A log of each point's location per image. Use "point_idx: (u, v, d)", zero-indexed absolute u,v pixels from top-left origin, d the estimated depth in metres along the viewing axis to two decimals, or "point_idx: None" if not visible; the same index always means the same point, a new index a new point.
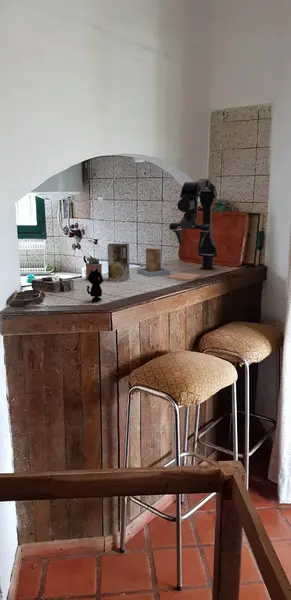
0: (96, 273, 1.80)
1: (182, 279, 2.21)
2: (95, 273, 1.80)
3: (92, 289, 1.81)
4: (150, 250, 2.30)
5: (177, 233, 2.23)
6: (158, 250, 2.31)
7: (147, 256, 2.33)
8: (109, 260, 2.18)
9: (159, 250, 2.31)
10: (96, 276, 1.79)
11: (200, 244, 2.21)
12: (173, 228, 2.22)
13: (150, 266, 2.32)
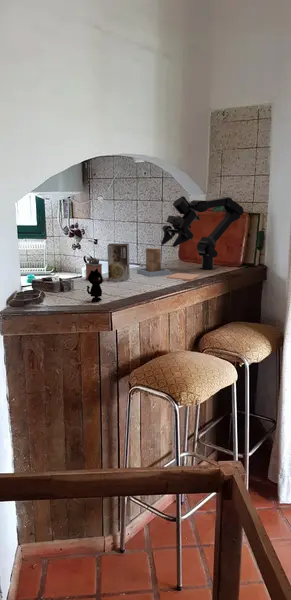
0: (96, 273, 1.80)
1: (182, 279, 2.21)
2: (95, 273, 1.80)
3: (92, 289, 1.81)
4: (150, 250, 2.30)
5: (165, 233, 2.41)
6: (158, 250, 2.31)
7: (147, 256, 2.33)
8: (109, 260, 2.18)
9: (159, 250, 2.31)
10: (96, 276, 1.79)
11: (173, 243, 2.32)
12: (164, 227, 2.42)
13: (150, 266, 2.32)
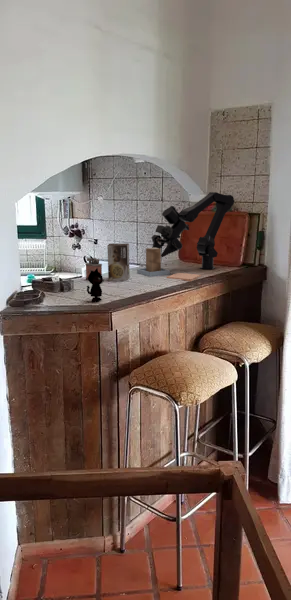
0: (96, 273, 1.80)
1: (182, 279, 2.21)
2: (95, 273, 1.80)
3: (92, 289, 1.81)
4: (150, 250, 2.30)
5: (154, 242, 2.39)
6: (158, 250, 2.31)
7: (147, 256, 2.33)
8: (109, 260, 2.18)
9: (159, 250, 2.31)
10: (96, 276, 1.79)
11: (162, 253, 2.30)
12: (153, 237, 2.40)
13: (150, 266, 2.32)
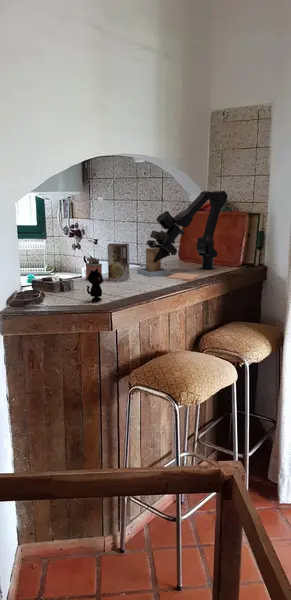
0: (96, 273, 1.80)
1: (182, 279, 2.21)
2: (95, 273, 1.80)
3: (92, 289, 1.81)
4: (150, 250, 2.30)
5: None
6: (158, 250, 2.31)
7: (147, 256, 2.33)
8: (109, 260, 2.18)
9: None
10: (96, 276, 1.79)
11: (154, 259, 2.30)
12: (148, 242, 2.39)
13: (150, 266, 2.32)
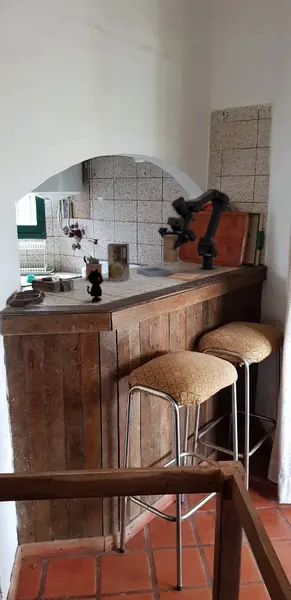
0: (96, 273, 1.80)
1: (182, 279, 2.21)
2: (95, 273, 1.80)
3: (92, 289, 1.81)
4: (169, 237, 2.23)
5: None
6: (176, 237, 2.25)
7: (165, 244, 2.25)
8: (109, 260, 2.18)
9: (177, 237, 2.25)
10: (96, 276, 1.79)
11: (174, 246, 2.24)
12: (161, 229, 2.31)
13: (169, 254, 2.24)
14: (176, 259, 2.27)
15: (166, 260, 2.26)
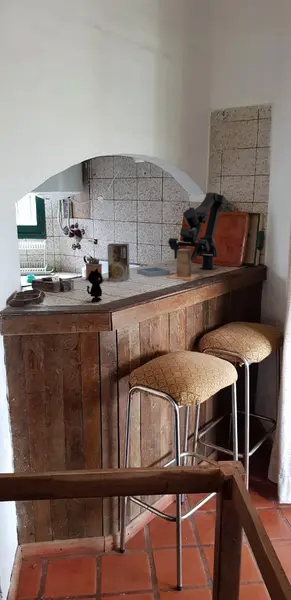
0: (96, 273, 1.80)
1: (182, 279, 2.21)
2: (95, 273, 1.80)
3: (92, 289, 1.81)
4: (184, 251, 2.22)
5: (175, 246, 2.27)
6: (190, 251, 2.24)
7: (179, 258, 2.24)
8: (109, 260, 2.18)
9: (190, 251, 2.25)
10: (96, 276, 1.79)
11: (192, 257, 2.22)
12: (172, 240, 2.29)
13: (184, 268, 2.23)
14: (189, 273, 2.26)
15: (180, 274, 2.25)
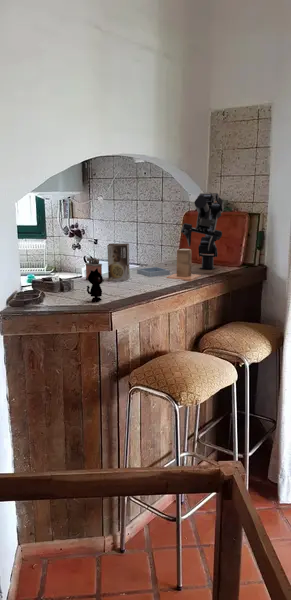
0: (96, 273, 1.80)
1: (182, 279, 2.21)
2: (95, 273, 1.80)
3: (92, 289, 1.81)
4: (184, 251, 2.22)
5: (190, 233, 2.30)
6: (190, 251, 2.24)
7: (179, 258, 2.24)
8: (109, 260, 2.18)
9: (190, 251, 2.25)
10: (96, 276, 1.79)
11: (210, 248, 2.31)
12: (188, 227, 2.29)
13: (184, 268, 2.23)
14: (189, 273, 2.26)
15: (180, 274, 2.25)
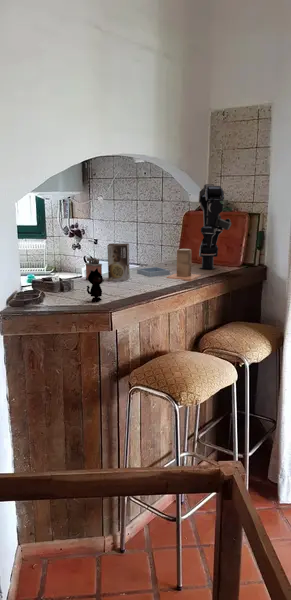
0: (96, 273, 1.80)
1: (182, 279, 2.21)
2: (95, 273, 1.80)
3: (92, 289, 1.81)
4: (184, 251, 2.22)
5: (213, 236, 2.28)
6: (190, 251, 2.24)
7: (179, 258, 2.24)
8: (109, 260, 2.18)
9: (190, 251, 2.25)
10: (96, 276, 1.79)
11: (216, 243, 2.39)
12: (214, 231, 2.26)
13: (184, 268, 2.23)
14: (189, 273, 2.26)
15: (180, 274, 2.25)
